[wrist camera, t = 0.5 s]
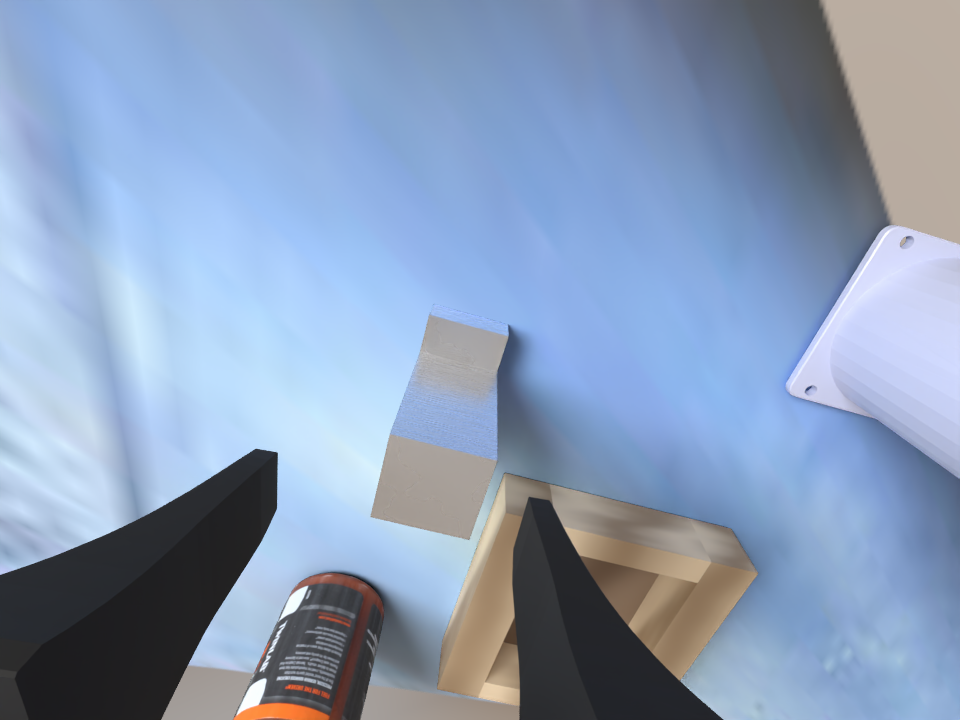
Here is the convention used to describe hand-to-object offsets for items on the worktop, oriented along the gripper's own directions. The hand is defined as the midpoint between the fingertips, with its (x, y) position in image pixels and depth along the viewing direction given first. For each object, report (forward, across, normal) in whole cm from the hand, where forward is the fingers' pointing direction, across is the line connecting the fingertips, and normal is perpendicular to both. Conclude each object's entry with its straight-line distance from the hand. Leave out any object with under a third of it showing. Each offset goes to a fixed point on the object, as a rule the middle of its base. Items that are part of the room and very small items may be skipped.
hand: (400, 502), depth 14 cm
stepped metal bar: (+10, -1, +1) cm, 10 cm away
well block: (+10, -10, +13) cm, 20 cm away
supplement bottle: (+10, +4, +18) cm, 21 cm away
